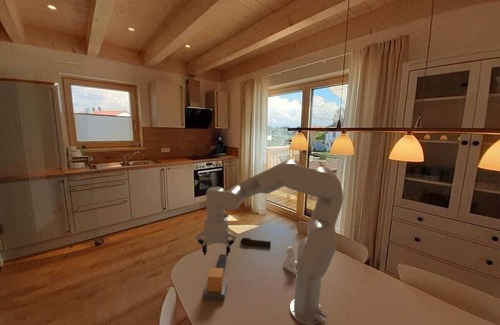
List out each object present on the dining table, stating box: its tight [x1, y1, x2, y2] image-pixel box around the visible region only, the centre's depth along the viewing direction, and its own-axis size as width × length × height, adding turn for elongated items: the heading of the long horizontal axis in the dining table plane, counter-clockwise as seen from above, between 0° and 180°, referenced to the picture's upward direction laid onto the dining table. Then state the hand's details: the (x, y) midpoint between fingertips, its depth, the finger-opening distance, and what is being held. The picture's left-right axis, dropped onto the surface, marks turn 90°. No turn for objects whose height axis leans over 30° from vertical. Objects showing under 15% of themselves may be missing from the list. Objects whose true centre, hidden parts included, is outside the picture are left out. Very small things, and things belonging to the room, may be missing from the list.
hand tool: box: [240, 237, 272, 249], centre depth 133 cm, size 19×4×5 cm, turn 79°
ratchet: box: [202, 253, 228, 302], centre depth 105 cm, size 29×9×6 cm, turn 179°
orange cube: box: [207, 267, 225, 292], centre depth 94 cm, size 6×6×7 cm
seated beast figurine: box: [282, 245, 297, 276], centre depth 112 cm, size 10×9×12 cm
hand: (216, 253), depth 92 cm, fingers open, 9 cm apart
